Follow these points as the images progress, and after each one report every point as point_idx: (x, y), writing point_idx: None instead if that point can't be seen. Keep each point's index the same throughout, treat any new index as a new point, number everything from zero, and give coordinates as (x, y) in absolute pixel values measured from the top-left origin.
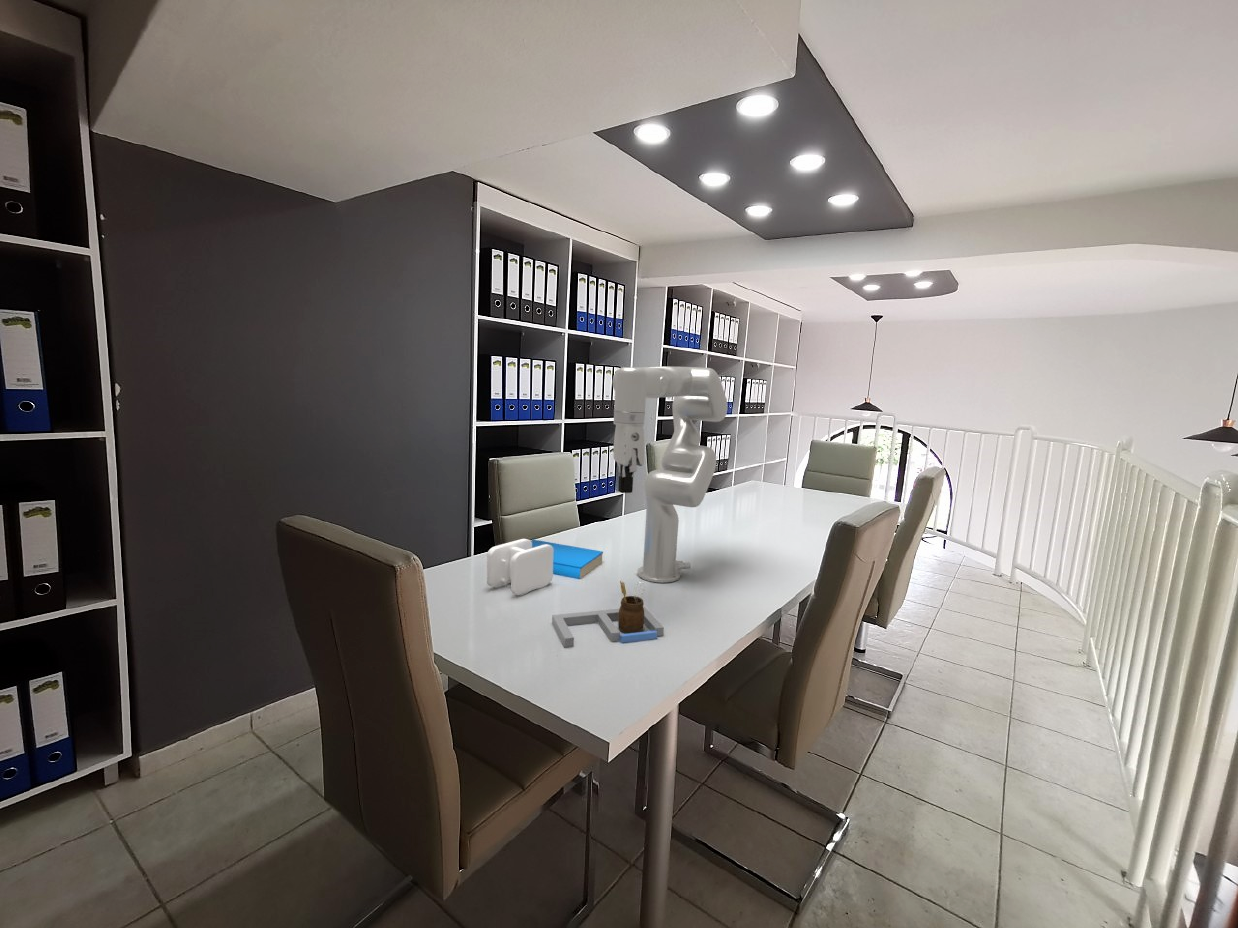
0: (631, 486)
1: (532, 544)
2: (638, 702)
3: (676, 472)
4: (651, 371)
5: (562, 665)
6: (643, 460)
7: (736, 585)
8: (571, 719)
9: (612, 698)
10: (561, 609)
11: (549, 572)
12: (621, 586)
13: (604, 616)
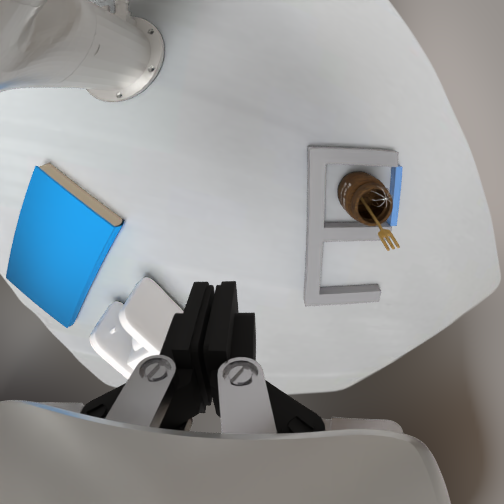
0: (234, 309)
1: (23, 284)
2: (487, 247)
3: None
4: None
5: (409, 302)
6: (442, 480)
7: None
8: (475, 304)
9: (473, 267)
10: (257, 278)
11: (148, 291)
12: (384, 242)
13: (333, 233)
